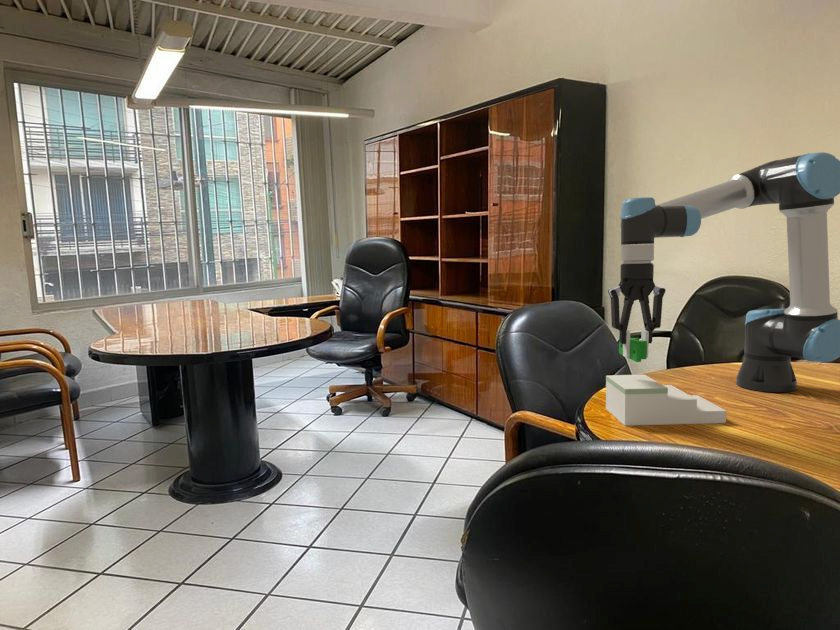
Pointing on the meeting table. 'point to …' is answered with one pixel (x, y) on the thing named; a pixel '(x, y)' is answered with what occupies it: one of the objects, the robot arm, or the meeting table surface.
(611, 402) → the stepped riser
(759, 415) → the meeting table surface
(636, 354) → the pipe clamp
